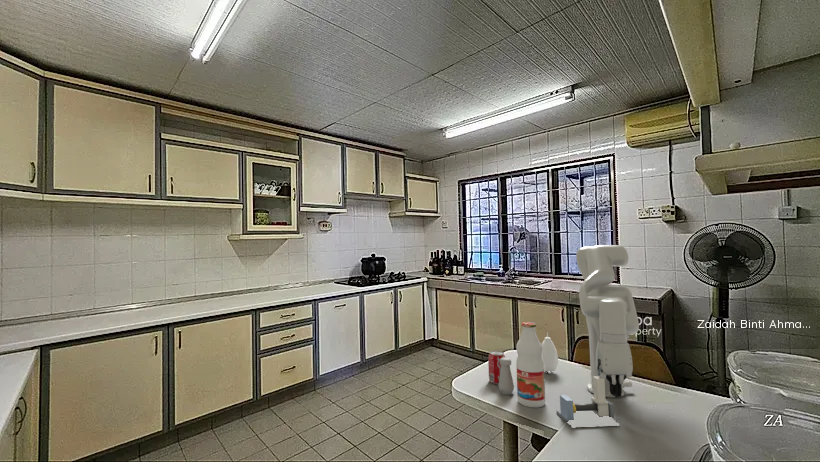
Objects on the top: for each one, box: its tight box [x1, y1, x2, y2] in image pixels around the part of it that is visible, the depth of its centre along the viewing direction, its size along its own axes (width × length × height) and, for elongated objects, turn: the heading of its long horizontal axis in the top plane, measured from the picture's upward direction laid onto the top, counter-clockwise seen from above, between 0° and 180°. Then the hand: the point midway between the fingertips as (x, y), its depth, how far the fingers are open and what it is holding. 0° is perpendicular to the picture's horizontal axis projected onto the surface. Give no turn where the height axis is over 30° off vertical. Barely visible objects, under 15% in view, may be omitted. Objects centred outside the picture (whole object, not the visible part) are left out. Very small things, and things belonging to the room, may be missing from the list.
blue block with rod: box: [556, 394, 615, 424], centre depth 112 cm, size 15×10×7 cm, turn 93°
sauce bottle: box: [541, 331, 559, 372], centre depth 156 cm, size 8×8×18 cm
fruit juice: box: [515, 321, 546, 409], centre depth 126 cm, size 9×9×28 cm
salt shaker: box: [497, 356, 515, 396], centre depth 134 cm, size 6×6×13 cm
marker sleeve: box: [591, 376, 609, 417], centre depth 112 cm, size 3×4×11 cm
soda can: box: [487, 350, 506, 386], centre depth 145 cm, size 7×7×12 cm
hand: (615, 395), depth 113 cm, fingers closed
